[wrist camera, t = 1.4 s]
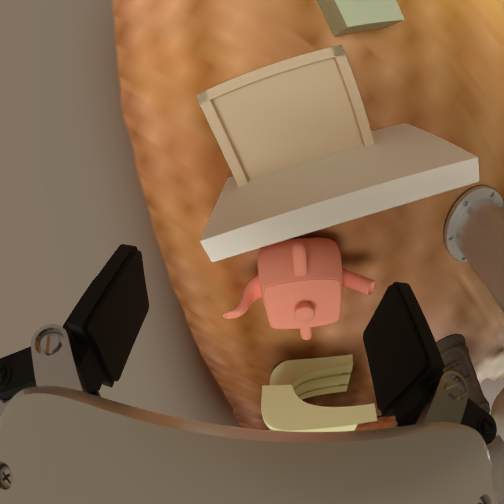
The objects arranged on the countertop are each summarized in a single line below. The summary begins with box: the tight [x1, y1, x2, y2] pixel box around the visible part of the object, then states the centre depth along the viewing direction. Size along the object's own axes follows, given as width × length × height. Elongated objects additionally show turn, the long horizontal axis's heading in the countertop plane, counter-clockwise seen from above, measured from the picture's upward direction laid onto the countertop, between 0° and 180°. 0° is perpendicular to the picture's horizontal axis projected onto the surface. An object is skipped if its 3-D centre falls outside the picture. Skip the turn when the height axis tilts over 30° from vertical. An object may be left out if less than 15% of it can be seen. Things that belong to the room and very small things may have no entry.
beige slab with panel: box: [196, 45, 479, 262], centre depth 21 cm, size 22×12×14 cm, turn 112°
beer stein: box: [436, 335, 490, 413], centre depth 41 cm, size 15×11×20 cm
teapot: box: [223, 237, 375, 340], centre depth 34 cm, size 14×12×10 cm
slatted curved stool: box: [261, 354, 377, 432], centre depth 46 cm, size 30×16×18 cm, turn 8°
